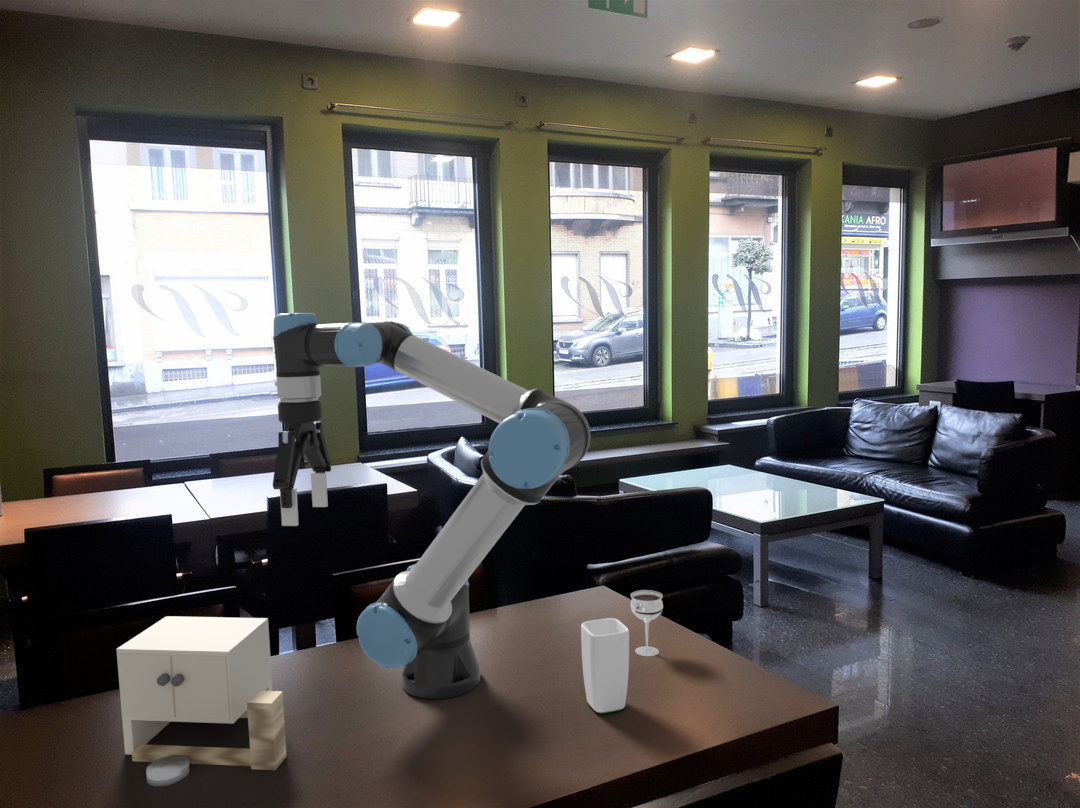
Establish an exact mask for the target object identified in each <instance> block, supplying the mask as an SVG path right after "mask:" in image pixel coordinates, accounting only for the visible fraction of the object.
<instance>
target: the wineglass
mask: <svg viewBox="0 0 1080 808" xmlns="http://www.w3.org/2000/svg"><path fill="white" fill-rule="evenodd" d="M662 598H664V597H663V594H662V593H661V592H659V591H655V590H651V589H650V590H649V589H640V590H636V591H635V590H634V591H633V592H631V593H630V599H631V600H630V605H629V606H630V610H631V613H632V614H633V615H634V616H635V617H636V618H637V619H639V620H642V621H643V623H644V634H645V645H644V646H638V647H637V648H635V650H634V653H636V654H637V655H639V656H642V657H653V656H657V655H659V654H660V651H659V649H658V648H657V647H653V646H649V625H650V624H649V623H650V622H651V621H653V620H655V619H657V618H658V617H659V616H660V615H661V614H662V613H663V609H664V604H663V600H662Z"/></svg>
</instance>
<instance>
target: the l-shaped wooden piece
mask: <svg viewBox="0 0 1080 808" xmlns="http://www.w3.org/2000/svg"><path fill="white" fill-rule="evenodd" d="M284 705H285V704H284V692H283V690H282V691H281V690H272V691H258V692H257V693H256V694H255V695H254V696H253V697H252V698H251V699H250V700H249V701H248V702H247V709H248V718H247V724H248V736H249V737H248V738H249V748H245V747H244V748H238V747H219V746H218V747H215V746H214V747H213V746H192V745H191V746H190V745H165V744H145V745H144V744H141V745H140V746H138V747H137V748H136V749H135V750H134V751H133V752H132V755H131V759H132V760H131V761H132V762H140V763H141V762H145V763H146V762H147V763H152V762H154V761H155V760H158V759H160V758H163V757H166V756H171V755H183V756H186V757H187V758H188V759H189V765H190V764H192V765H216V766H234V767H235V766H236V767H239V766H240V767H241V766H242V767H250V768H251V770H263V771H264V770H265V771H277V769H278V768H279V767H280V766H281V764H282V763H283V761H284V760H285V759H287V757H288V756H287V741H286V739H287V738H286V725H285V710H284V709H285V706H284Z"/></svg>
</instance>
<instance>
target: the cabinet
mask: <svg viewBox="0 0 1080 808" xmlns="http://www.w3.org/2000/svg"><path fill="white" fill-rule="evenodd" d="M269 630H270V629H269V618H268V617H225V616H224V617H223V616H219V617H218V616H180V615H179V616H175V615H174V616H171V615H170V616H169V615H168V616H167V615H166V616H164V617H163V618H161V619H160V620H158V621H157V622H155V623H154V624H152V625H151V626H149V627H148V628H146V629H144V630H143V631H142V632H140V633H139V634H137V635H136V636H134V637H132V638H131V639H129V640H128V641H126V642H125V643H123V644H122V645H120V646H118V647H117V648H116V649H115V650H116V658H117V659H116V660H117V670H118V671H117V672H118V674H117V675H118V682H119V683H118V684H119V696H120V698H119V699H120V707H121V709H120V710H121V719H122V720H121V721H122V732H123V744H124V745H123V746H124V755H127V756H128V755H129V756H130V755H131V756H132V752H133V751H134V750H135V749H136V748H137V747H138V746H140V745H141V744H144V745H147V744H148V743H149V742H150V741H151V740H152V739H153V738H155V736H157V735H158V734H160V732H161V731H162V730H163V729H165V728H166V727H167V726H168V725H169V724H170V723H171V722H173V723H174V722H176V723H177V722H180V723H203V724H204V723H206V724H207V723H208V724H235V723H236V722H237V721H238V719H248V709H247V702H248V701H249V700H250V699H251V698H252V697H253V696H254V695H255V694H256V693H257V692H258V691H273V679H272V678H273V677H272V676H273V675H272V661H271V646H270V645H271V643H270V631H269Z"/></svg>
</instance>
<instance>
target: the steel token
mask: <svg viewBox="0 0 1080 808" xmlns="http://www.w3.org/2000/svg"><path fill="white" fill-rule="evenodd" d="M145 773H146V783H147V784H148V785H149V786H152V787H155V788H157V787H166V786H167V787H168V786H171V785H174V784H176V783H179V782H180V781H182V780H184V779H185V778H186V777H187V776H188V775H189V773H190V764H189V759H188V758H187V757H186V756H183V755H171V756H166V757H163V758H160V759H158V760H155V761H154V762H150V764H149V765H147V767H146V769H145Z"/></svg>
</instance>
